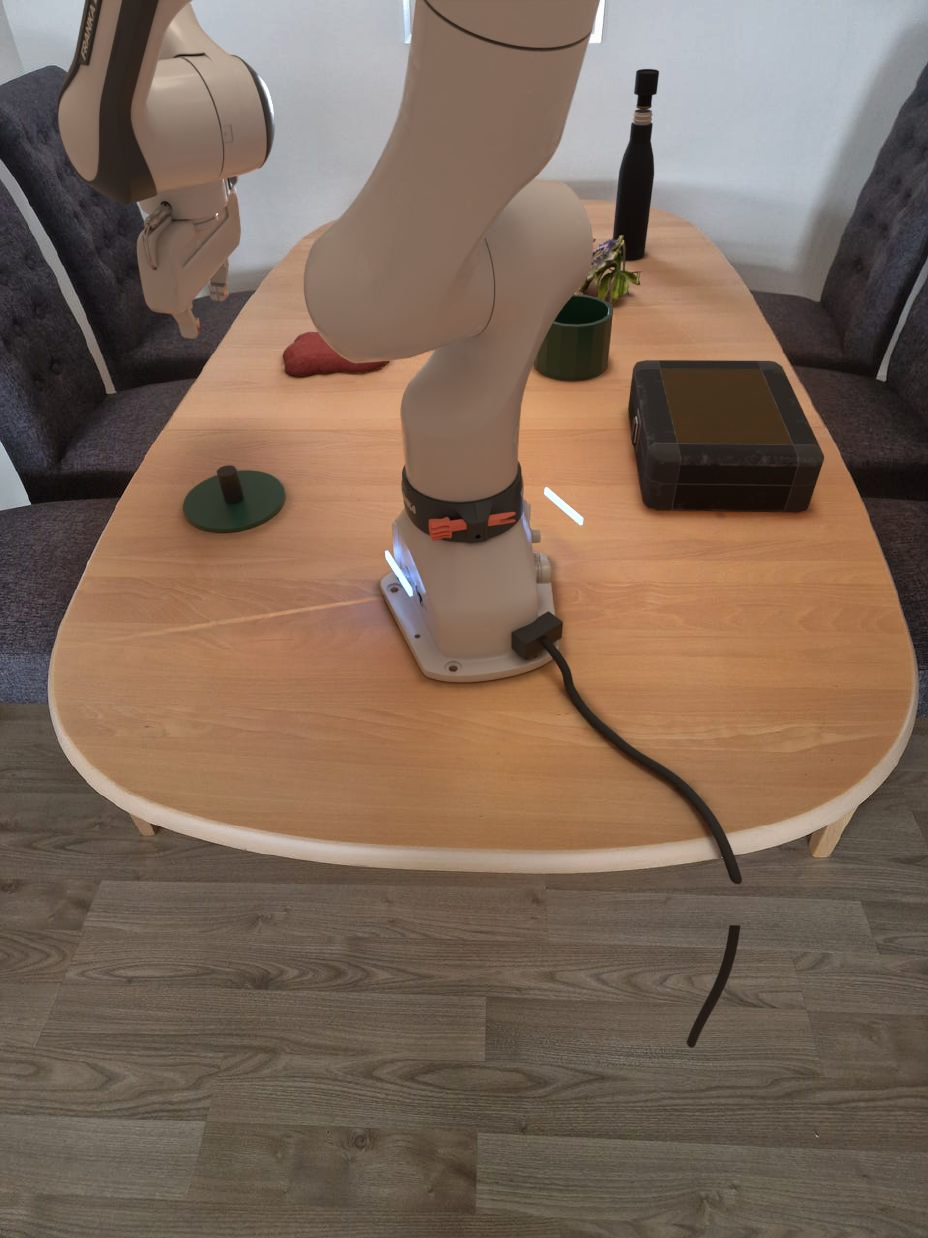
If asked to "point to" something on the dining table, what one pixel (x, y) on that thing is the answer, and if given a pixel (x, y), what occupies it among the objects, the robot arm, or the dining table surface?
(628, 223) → the wine bottle
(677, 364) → the cash box
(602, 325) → the tin
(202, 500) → the lid
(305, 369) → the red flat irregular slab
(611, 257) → the passion flower
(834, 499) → the dining table surface
